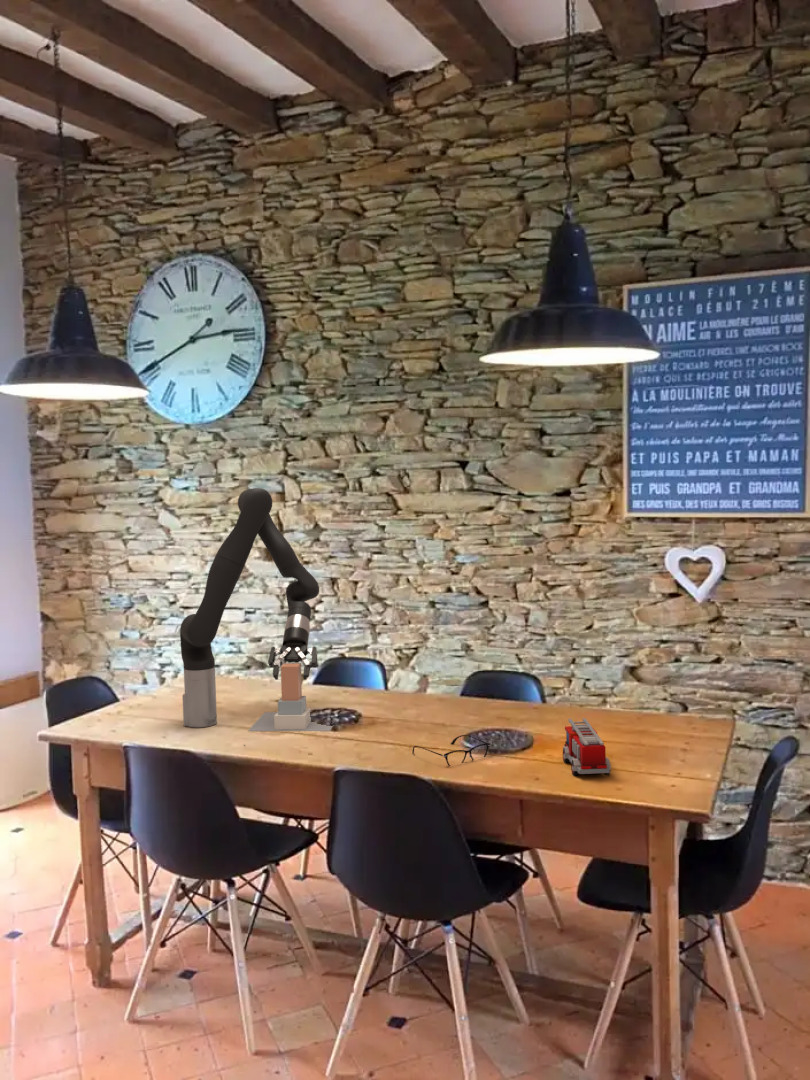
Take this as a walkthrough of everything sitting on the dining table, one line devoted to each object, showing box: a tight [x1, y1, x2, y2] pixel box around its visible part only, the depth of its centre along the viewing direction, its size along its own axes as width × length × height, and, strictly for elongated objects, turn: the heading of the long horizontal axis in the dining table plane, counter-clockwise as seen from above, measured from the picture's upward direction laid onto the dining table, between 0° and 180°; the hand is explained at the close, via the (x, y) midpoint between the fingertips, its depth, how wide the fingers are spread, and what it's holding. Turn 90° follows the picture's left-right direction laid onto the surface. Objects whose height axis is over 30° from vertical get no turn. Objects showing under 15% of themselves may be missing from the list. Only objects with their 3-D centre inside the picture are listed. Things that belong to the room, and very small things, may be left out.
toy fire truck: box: [562, 718, 612, 776], centre depth 230 cm, size 9×19×10 cm, turn 2°
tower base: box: [274, 695, 311, 730], centre depth 274 cm, size 9×9×8 cm
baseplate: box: [247, 711, 334, 732], centre depth 279 cm, size 24×22×1 cm
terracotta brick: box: [280, 662, 303, 701], centre depth 274 cm, size 5×5×10 cm
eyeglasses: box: [412, 734, 491, 766], centre depth 244 cm, size 16×16×4 cm
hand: (290, 678), depth 272 cm, fingers open, 8 cm apart
